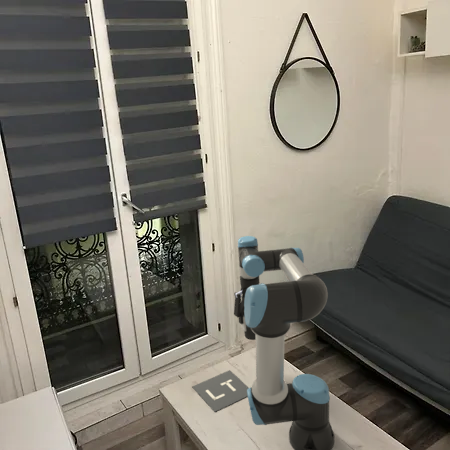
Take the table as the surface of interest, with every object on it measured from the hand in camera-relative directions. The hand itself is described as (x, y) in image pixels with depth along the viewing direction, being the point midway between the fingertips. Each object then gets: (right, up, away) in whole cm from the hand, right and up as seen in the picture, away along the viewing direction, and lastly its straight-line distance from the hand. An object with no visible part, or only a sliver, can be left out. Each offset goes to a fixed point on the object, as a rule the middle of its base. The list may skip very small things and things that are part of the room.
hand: (252, 326), depth 191 cm
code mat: (-12, -25, -3) cm, 28 cm away
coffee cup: (0, -4, +2) cm, 4 cm away
